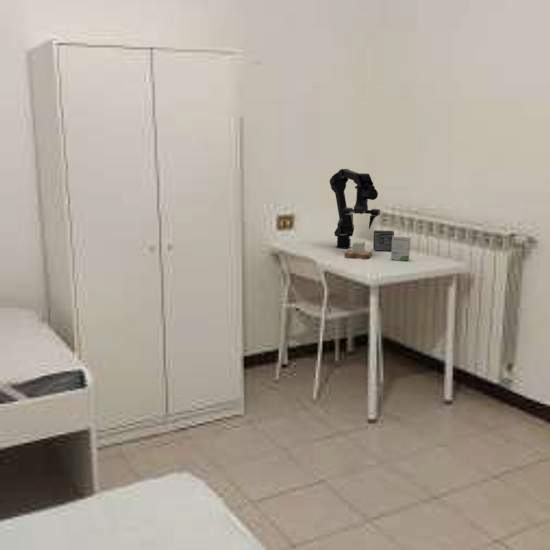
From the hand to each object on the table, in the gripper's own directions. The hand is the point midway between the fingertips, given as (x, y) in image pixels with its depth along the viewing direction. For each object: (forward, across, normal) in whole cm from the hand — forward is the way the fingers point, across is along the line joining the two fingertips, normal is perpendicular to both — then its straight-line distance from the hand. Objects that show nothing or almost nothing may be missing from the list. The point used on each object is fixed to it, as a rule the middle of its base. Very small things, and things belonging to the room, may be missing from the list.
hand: (360, 228), depth 368 cm
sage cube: (+11, +2, -12) cm, 16 cm away
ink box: (+13, +23, -11) cm, 29 cm away
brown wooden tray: (+13, +2, -12) cm, 18 cm away
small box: (+13, +10, +12) cm, 21 cm away
